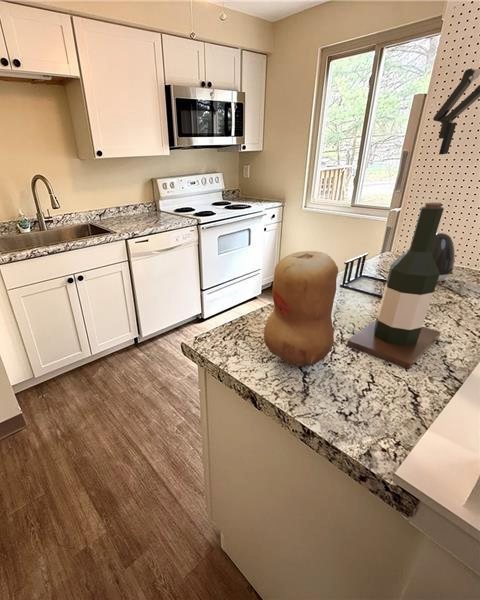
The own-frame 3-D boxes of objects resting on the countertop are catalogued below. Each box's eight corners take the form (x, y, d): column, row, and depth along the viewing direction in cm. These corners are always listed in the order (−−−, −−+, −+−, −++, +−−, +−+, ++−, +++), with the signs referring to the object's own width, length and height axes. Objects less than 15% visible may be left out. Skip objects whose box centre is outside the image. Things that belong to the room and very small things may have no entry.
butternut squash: (251, 348, 75) (258, 249, 65) (300, 338, 77) (315, 240, 67) (286, 385, 63) (302, 270, 52) (344, 371, 65) (370, 258, 54)
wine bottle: (404, 327, 75) (444, 198, 62) (426, 346, 68) (476, 205, 55) (366, 326, 77) (397, 201, 64) (383, 345, 69) (422, 208, 56)
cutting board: (380, 319, 82) (381, 314, 81) (439, 337, 72) (441, 331, 72) (346, 345, 73) (347, 340, 72) (408, 369, 64) (410, 363, 63)
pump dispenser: (417, 271, 107) (430, 227, 100) (455, 280, 98) (472, 232, 91) (399, 278, 103) (411, 233, 97) (437, 288, 94) (453, 239, 88)
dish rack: (361, 275, 108) (366, 252, 104) (409, 287, 97) (417, 261, 93) (338, 286, 102) (343, 262, 98) (387, 299, 91) (394, 273, 87)
